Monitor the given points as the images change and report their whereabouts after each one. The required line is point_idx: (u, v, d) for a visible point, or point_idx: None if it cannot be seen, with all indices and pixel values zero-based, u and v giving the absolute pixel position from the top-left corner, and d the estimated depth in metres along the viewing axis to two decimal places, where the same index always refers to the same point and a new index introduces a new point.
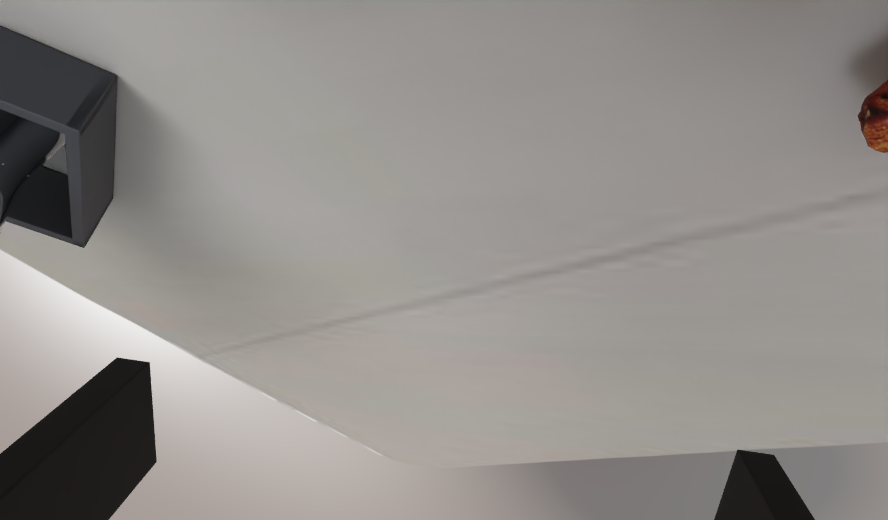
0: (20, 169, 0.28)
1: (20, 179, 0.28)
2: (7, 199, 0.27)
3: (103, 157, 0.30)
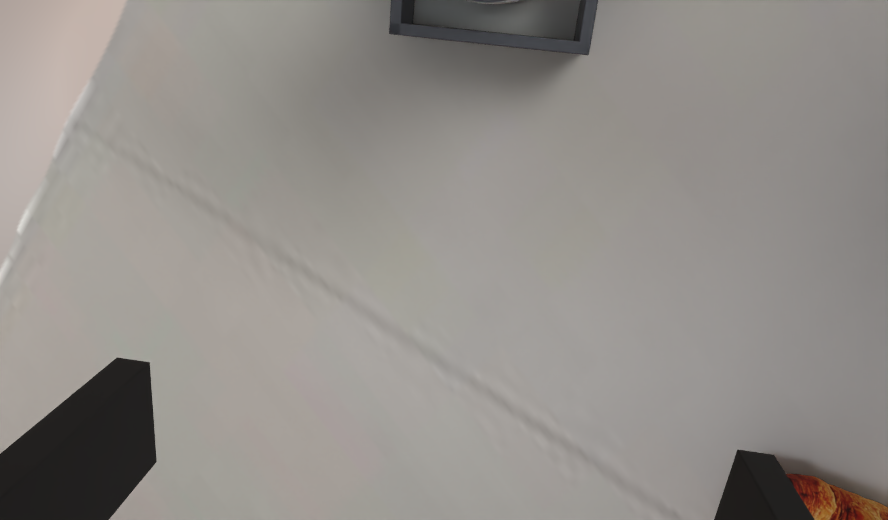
0: None
1: None
2: None
3: None
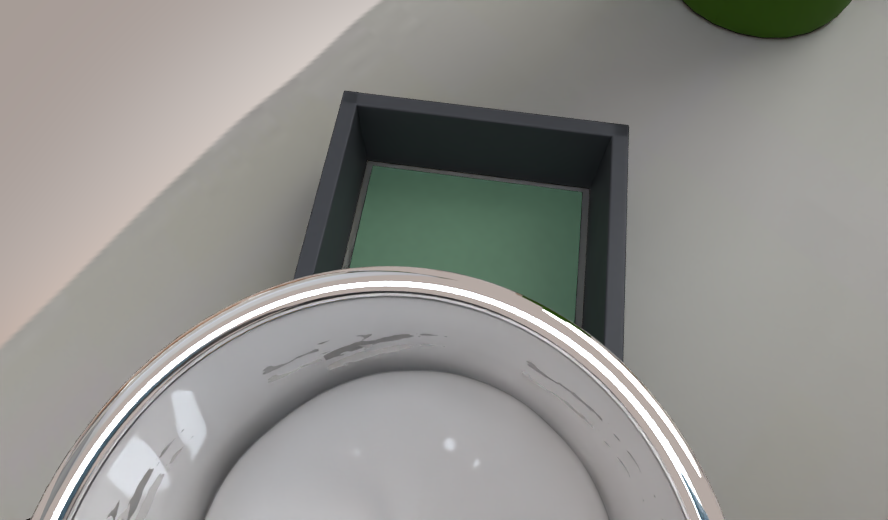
0: None
1: None
2: None
3: None
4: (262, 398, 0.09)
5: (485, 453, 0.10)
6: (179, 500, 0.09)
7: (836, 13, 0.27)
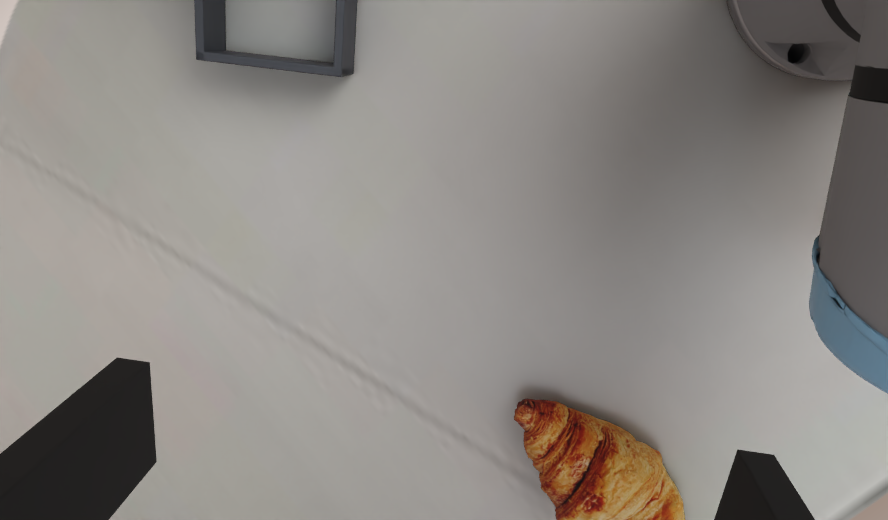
0: None
1: None
2: None
3: None
4: None
5: None
6: None
7: None
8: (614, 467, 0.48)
